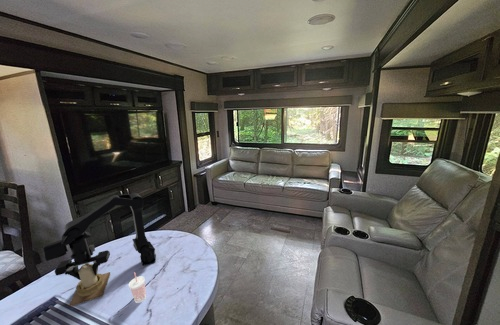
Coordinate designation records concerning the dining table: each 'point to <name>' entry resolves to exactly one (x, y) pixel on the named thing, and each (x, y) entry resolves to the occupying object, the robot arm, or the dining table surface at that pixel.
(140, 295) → the beverage cup
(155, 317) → the dining table surface
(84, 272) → the candle
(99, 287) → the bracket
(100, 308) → the dining table surface
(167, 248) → the dining table surface
